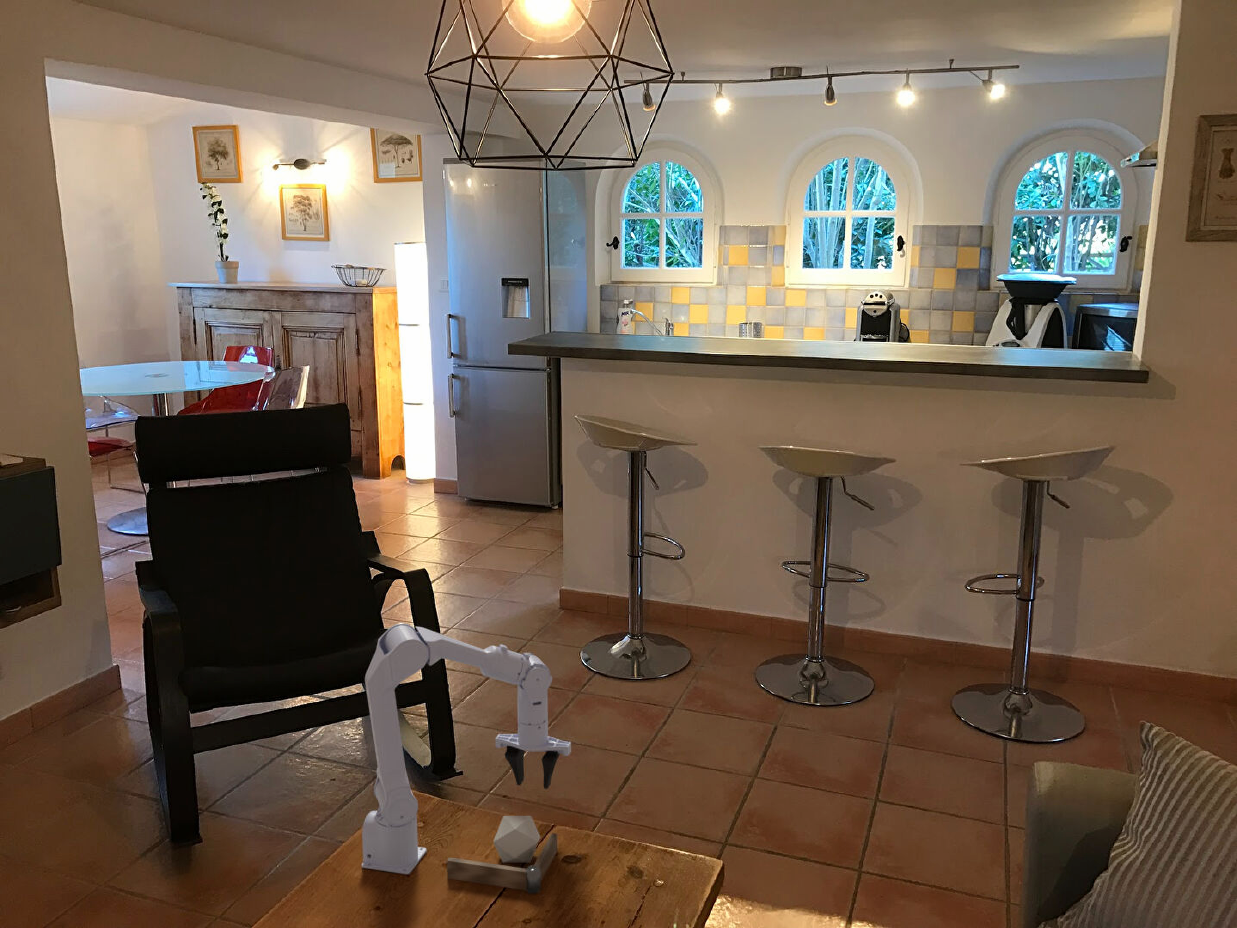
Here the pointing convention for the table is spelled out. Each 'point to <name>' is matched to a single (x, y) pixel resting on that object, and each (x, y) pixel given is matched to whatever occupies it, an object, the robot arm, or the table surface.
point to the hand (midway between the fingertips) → (533, 784)
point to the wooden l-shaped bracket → (505, 870)
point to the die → (516, 839)
